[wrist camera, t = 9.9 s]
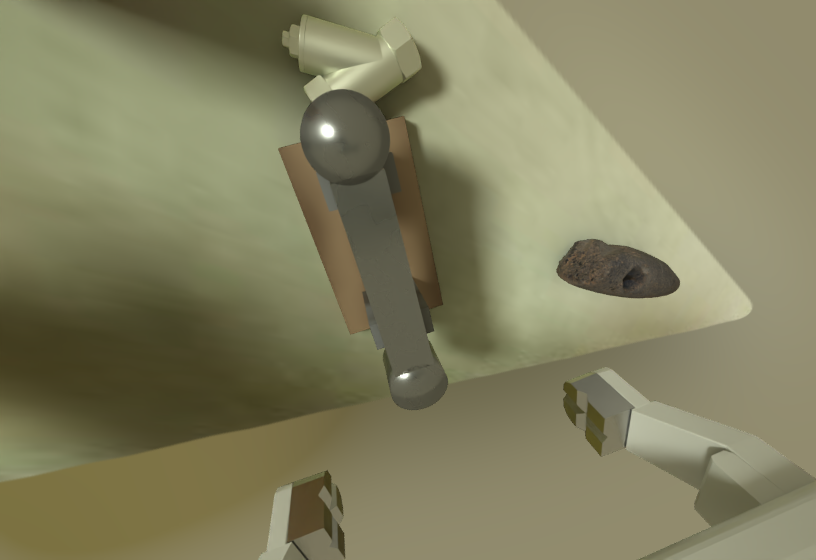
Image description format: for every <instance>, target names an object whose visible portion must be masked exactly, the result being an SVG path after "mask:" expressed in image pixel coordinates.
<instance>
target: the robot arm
mask: <svg viewBox="0 0 816 560" xmlns="http://www.w3.org/2000/svg"><path fill="white" fill-rule="evenodd" d="M563 390H564V391H565V392H566V393H567V394H566V396H565V397H564V399H563V401H564V408H565V411H566V413H567V415H568V417H569V419H570V420H571V421H572V423H573V424H574V425H575V426H576V427H578V428H580V429H582V430H584V431H585V436H586V439H587V441H588V442H589V443H590V444H591V445H592V446H593V448H594V449H595V450H596V451H597V452H598V454H599V455H600V456H601V457H602V456H604V455H607V454H610V453H613V452H615V451H618V450H621V449H623V448H626V450H628V451H630V452H631V453H633V454H635V455H637V456H639V457H640V458H643V459H644V460H646V461H648V462H650V463H651V464H653V465H655V466H657V467H659V468H661V469H662V470H664V471H666V472H668V473H669V474H671V475H673V476H675V477H677V478H679V479H680V480H682V481H684V482H686V483H688V484H689V485H691V486H693V487H695V488H697V489H699V492H698V494H697V497H696V500H695V503H694V505H695V506H694V507H695V510H696V511H697V512H698V513H699V514H700V515H701V516H702V517H703V518H704V520H705V521H706V522H707V523H708V524H709V525H710V526H711V527H710V528H708V529H706V530H703V531H701V532H699V533H697V534H694V535H692V536H690V537H688V538H686V539H683V540H681V541H679V542H676V543H674V544H672V545H670V546H667V547H665V548H663V549H661V550H659V551H656V552H654V553H652V554H650V555H647V556H645V557H643V558H640V559H638V560H816V479H815V478H814V477H813V476H811V475H810V474H808V473H807V472H806V471H804V470H803V469H802V468H800V467H799V466H797V465H796V464H795V463H793V462H792V461H791V460H789V459H788V458H786V457H785V456H783V455H782V454H781V453H779V452H778V451H777V450H775V449H774V448H772V447H771V446H770V445H768V444H767V443H765V442H764V441H763V440H761V439H760V438H758V437H757V436H755V435H752V434H749V433H747V432H744V431H741V430H738V429H735V428H732V427H729V426H726V425H723V424H721V423H718V422H715V421H712V420H709V419H706V418H704V417H701V416H698V415H695V414H692V413H689V412H686V411H684V410H681V409H678V408H675V407H672V406H669V405H666V404H663V403H661V402H658V401H652V402H650V401H649V400H648V399H647V398H645V397H644V396H643V395H642V394H641V393H639V392H638V391H637V390H636V389H635V388H633V387H632V386H631V385H630V384H629V383H627V382H626V381H625V380H624V379H623V378H621V377H620V376H619V375H618V374H617V373H615V372H614V371H613V370H612V369H611V368H608V367H603V368H601V369H598V370H596V371H593V372H589V373H586V374H584V375H581V376H579V377H576V378H574V379H571V380H569V381H566V382H565V383H564V388H563ZM342 519H343V505H342V499H341V495H340V492H339V489H338V487H337V486H336V484H333V483H331V475H330V474H329V472H328V471H324V472H321V473H318V474H315V475H312V476H310V477H307V478H304V479H301V480H298V481H295V482H292V483H290V484H287V485H284V486H281V487H278V488H277V491H276V493H275V496H274V503H273V510H272V518H271V525H270V532H269V539H268V546H267V551H266V552H264V553H262V554H261V555H260V557H259V559H258V560H345V540H344V532H343V531H342V529H341V527H340V526H339V525H340V523H341V521H342Z"/></svg>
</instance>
